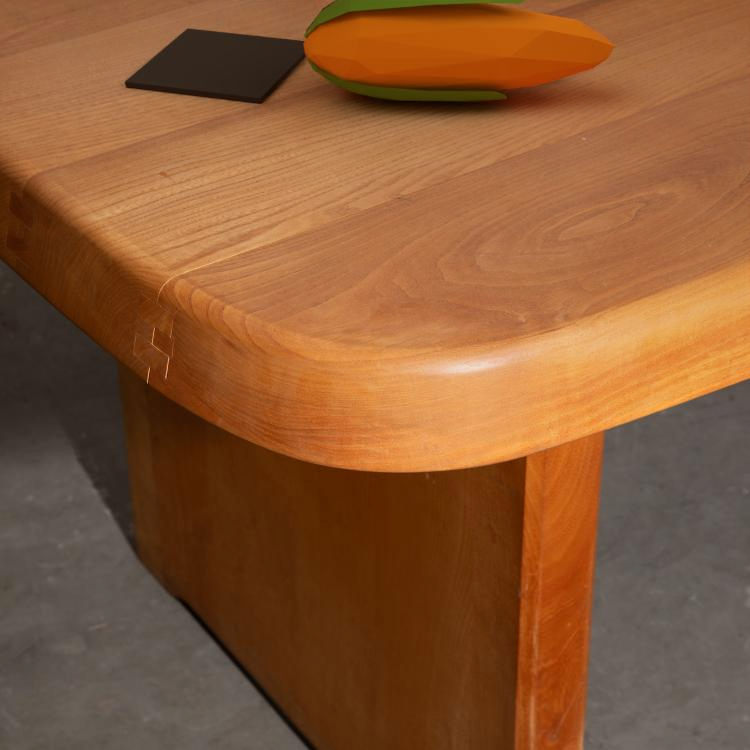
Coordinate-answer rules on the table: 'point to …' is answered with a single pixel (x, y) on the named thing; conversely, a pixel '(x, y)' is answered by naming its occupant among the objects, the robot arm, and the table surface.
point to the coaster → (220, 65)
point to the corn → (446, 48)
